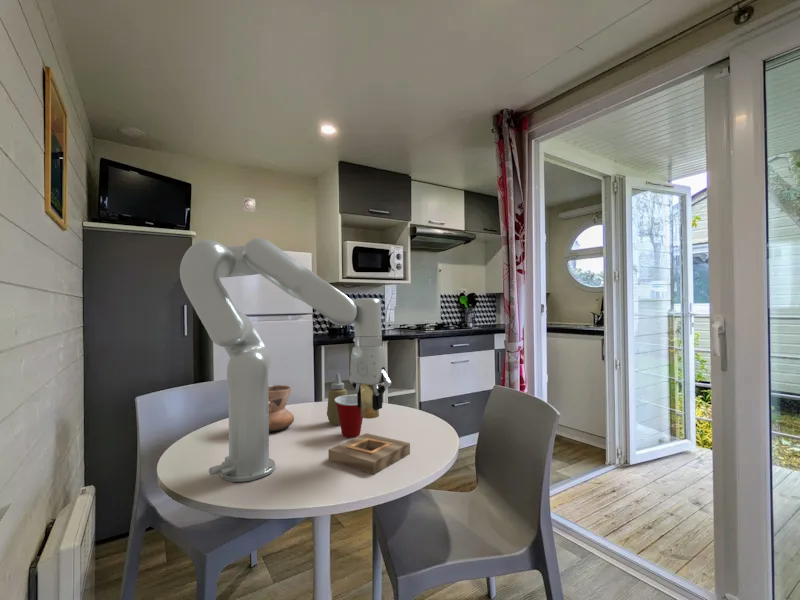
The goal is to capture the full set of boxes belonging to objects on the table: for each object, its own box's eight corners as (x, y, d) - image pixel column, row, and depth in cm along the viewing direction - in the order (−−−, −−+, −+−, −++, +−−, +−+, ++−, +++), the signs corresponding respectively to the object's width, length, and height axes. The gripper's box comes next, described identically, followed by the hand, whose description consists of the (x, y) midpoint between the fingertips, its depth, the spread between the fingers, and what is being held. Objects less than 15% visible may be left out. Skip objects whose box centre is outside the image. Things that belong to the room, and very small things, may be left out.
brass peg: (371, 419, 100) (370, 382, 100) (357, 416, 103) (356, 380, 103) (382, 415, 104) (381, 379, 104) (368, 412, 107) (368, 377, 107)
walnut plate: (374, 474, 92) (374, 461, 92) (328, 460, 101) (328, 448, 101) (410, 453, 105) (409, 441, 105) (366, 443, 114) (366, 432, 114)
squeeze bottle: (354, 422, 136) (353, 372, 137) (339, 428, 129) (339, 376, 130) (337, 419, 140) (336, 371, 141) (322, 424, 133) (321, 374, 134)
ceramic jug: (286, 436, 122) (287, 392, 123) (242, 436, 122) (242, 392, 122) (299, 421, 140) (300, 382, 141) (261, 421, 140) (261, 383, 140)
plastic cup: (351, 443, 114) (351, 403, 114) (327, 436, 121) (327, 399, 121) (375, 433, 123) (374, 397, 123) (351, 428, 129) (351, 393, 130)
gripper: (337, 342, 106) (338, 406, 105) (384, 344, 96) (386, 415, 95) (354, 340, 112) (356, 401, 111) (401, 342, 102) (402, 408, 101)
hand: (369, 407), depth 103 cm, fingers closed on brass peg, 5 cm apart
